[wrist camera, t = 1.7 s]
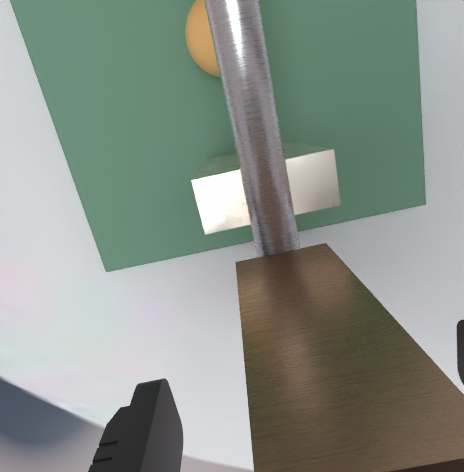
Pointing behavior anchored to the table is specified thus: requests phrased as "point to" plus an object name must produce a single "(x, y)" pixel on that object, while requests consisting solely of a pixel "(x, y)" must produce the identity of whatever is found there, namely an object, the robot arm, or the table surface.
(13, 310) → the table surface
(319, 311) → the rod
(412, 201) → the pitch
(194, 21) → the ball
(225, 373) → the table surface
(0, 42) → the table surface
